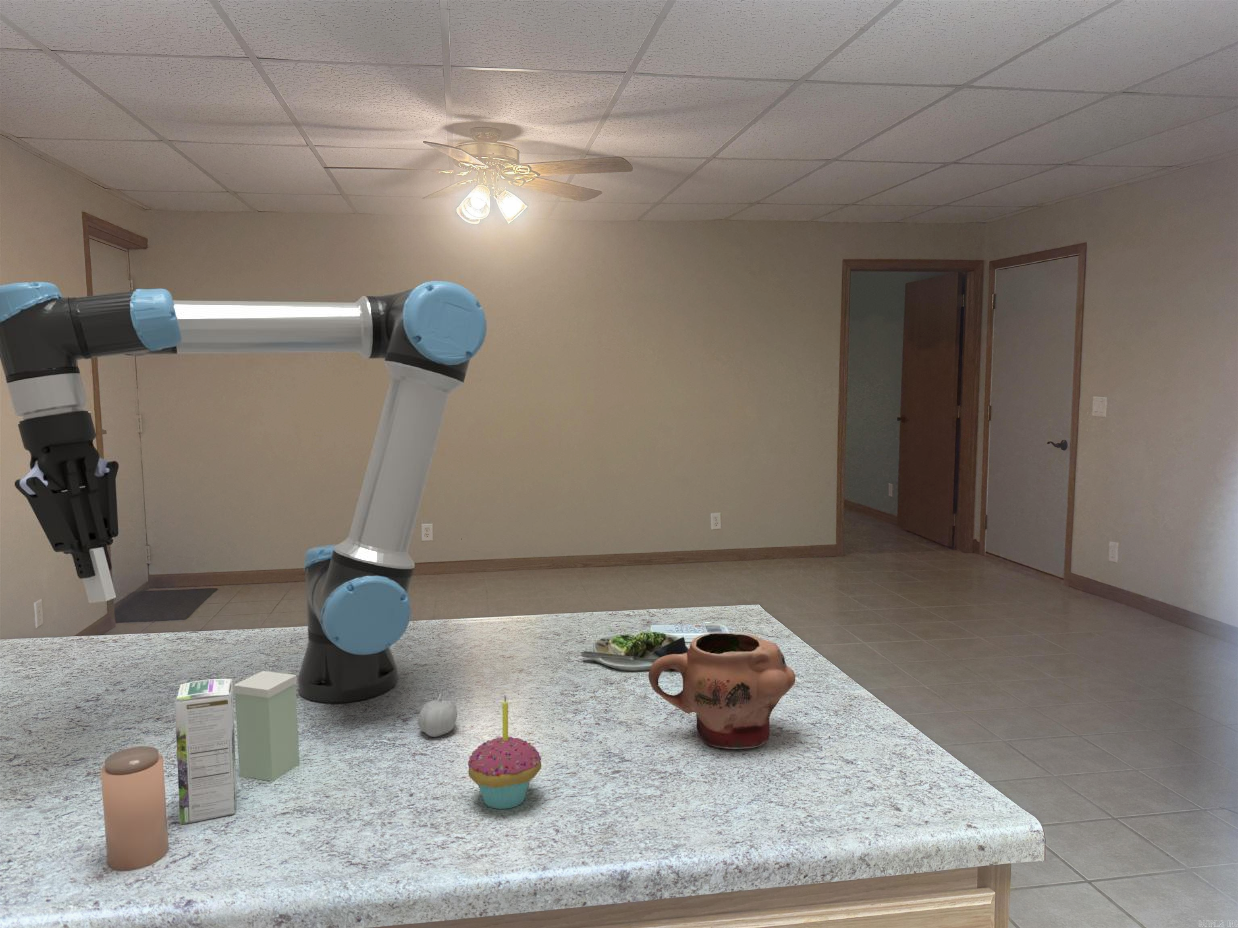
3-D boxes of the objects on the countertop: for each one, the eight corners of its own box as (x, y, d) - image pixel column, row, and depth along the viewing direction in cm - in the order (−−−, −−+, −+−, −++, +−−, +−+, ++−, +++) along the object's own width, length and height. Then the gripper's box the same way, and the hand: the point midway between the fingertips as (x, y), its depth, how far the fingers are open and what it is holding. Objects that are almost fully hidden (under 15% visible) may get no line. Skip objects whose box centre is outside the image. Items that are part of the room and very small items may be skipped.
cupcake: (472, 782, 103) (470, 688, 102) (541, 780, 104) (540, 686, 103) (465, 820, 95) (463, 718, 93) (541, 816, 95) (540, 715, 94)
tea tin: (267, 757, 110) (262, 670, 109) (300, 763, 109) (296, 675, 107) (238, 775, 105) (233, 685, 104) (272, 782, 104) (268, 689, 102)
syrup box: (183, 801, 99) (176, 682, 97) (238, 791, 101) (232, 675, 100) (179, 825, 94) (171, 700, 92) (238, 814, 96) (231, 692, 94)
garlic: (436, 720, 122) (435, 686, 121) (467, 727, 119) (466, 692, 119) (408, 737, 116) (407, 700, 116) (440, 744, 114) (439, 707, 113)
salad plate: (586, 680, 138) (586, 653, 138) (574, 645, 156) (574, 621, 155) (700, 673, 141) (701, 647, 141) (676, 640, 159) (676, 616, 158)
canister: (169, 834, 92) (162, 740, 91) (168, 861, 87) (162, 761, 86) (109, 848, 89) (102, 751, 88) (105, 876, 84) (97, 773, 83)
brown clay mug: (656, 762, 109) (656, 658, 107) (642, 723, 121) (642, 629, 119) (806, 754, 111) (808, 651, 109) (778, 716, 123) (780, 623, 121)
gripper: (74, 413, 109) (120, 587, 112) (-22, 424, 96) (32, 620, 99) (121, 403, 107) (166, 581, 110) (29, 414, 95) (82, 614, 98)
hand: (102, 600), depth 105 cm, fingers closed
